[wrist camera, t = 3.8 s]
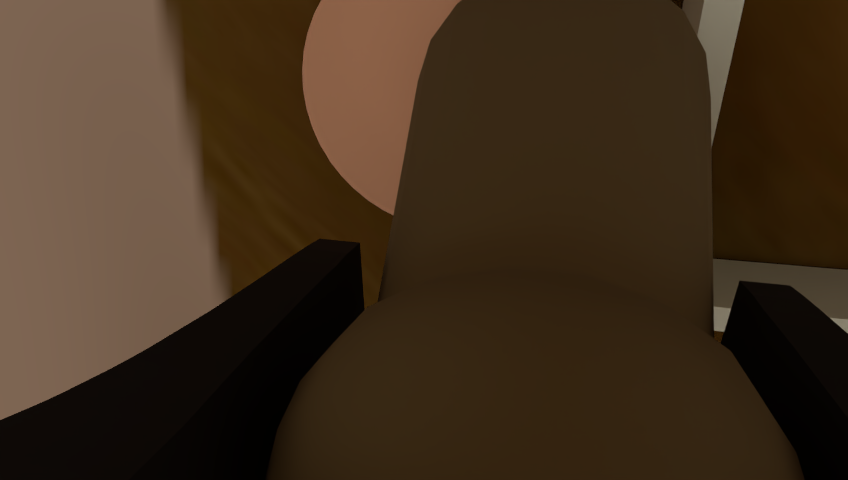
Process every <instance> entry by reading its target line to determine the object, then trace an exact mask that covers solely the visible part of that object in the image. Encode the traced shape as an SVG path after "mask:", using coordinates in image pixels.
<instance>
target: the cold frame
mask: <svg viewBox="0 0 848 480" xmlns="http://www.w3.org/2000/svg"><path fill="white" fill-rule="evenodd" d="M744 1H745V0H684V1H683V6H682V10H683V11H684V12H685V14H686V16H687V18H688V20H689V22H690V24H691V26H692V27H693V29H694V31H695V33H696V35H697V37H698V39H699V41H700V43H701V44H702V46H703V48H704V50H705V52H706V58H707V67H708V76H709V85H710V95H711V148H712V144H713V139H714V135H715V130H716V126H717V121H718V117H719V112H720V108H721V103H722V99H723V95H724V90H725V86H726V81H727V77H728V72H729V68H730V63H731V59H732V54H733V50H734V45H735V41H736V36H737V32H738V28H739V23H740V19H741V14H742V10H743V5H744ZM739 280H740V281H750V282H760V283H770V284H780V285H790V286H791V287H793V288H794V289H795V290H797V291H798V292H799V293H801V294H802V295H803V296H804V297H806V298H807V299H808V300H809V301H811V302H812V303H813V304H814V305H815V306H816V307H818V308H819V309H820V310H821V311H822V312H824V313H825V314H826V315H827V316H828V317H829V318H830V319H832V320H833V321H834V322H835V323H836V324H837V325H839V326H840V327H841V328H842V329H843V330H844V331H845V332H847V333H848V270H843V269H831V268H819V267H807V266H795V265H783V264H771V263H759V262H747V261H735V260H723V259H713V295H714V331H723V332H724V331H725V327H726V324H727V321H728V317H729V314H730V310H731V307H732V304H733V300H734V297H735V294H736V290H737V287H738V284H739Z"/></svg>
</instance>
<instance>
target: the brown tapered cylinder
mask: <svg viewBox="0 0 848 480" xmlns="http://www.w3.org/2000/svg"><path fill="white" fill-rule="evenodd" d="M265 480H805V478H804V475H803V472H802V469H801V466H800V462H799V459H798V456H797V453H796V451H795V449H794V448H793V446H792V445H791V443H790V442H789V440H788V439H787V437H786V435H785V434H784V432H783V431H782V429H781V428H780V426H779V424H778V423H777V421H776V420H775V418H774V417H773V415H772V414H771V412H770V410H769V409H768V407H767V406H766V404H765V403H764V401H763V399H762V398H761V396H760V395H759V393H758V392H757V390H756V389H755V387H754V386H753V384H752V383H751V381H750V380H749V378H748V376H747V375H746V373H745V372H744V370H743V369H742V367H741V366H740V364H739V363H738V361H737V360H736V358H735V357H734V355H733V353H732V352H731V351H730V350H729V349H727V348H726V347H725V346H723V345H722V344H721V343H719V342H718V341H716V340H715V339H714V295H713V222H712V149H711V95H710V85H709V76H708V67H707V58H706V52H705V50H704V48H703V46H702V44H701V43H700V41H699V39H698V37H697V35H696V33H695V31H694V29H693V27H692V26H691V24H690V22H689V20H688V18H687V16H686V14H685V12H684V11H683V10H682V9H680V8H679V7H678V6H677V5H676V4H675V3H674V2H672V1H671V0H461V1H460V2H459V3H457V4H456V6H455V7H454V9H453V10H452V11H451V13H450V14H449V15H448V17H447V18H446V19H445V21H444V22H443V24H442V25H441V26H440V28H439V29H438V30H437V32H436V33H435V34H434V36H433V37H432V39H431V40H430V43H429V46H428V49H427V53H426V56H425V59H424V62H423V66H422V69H421V72H420V75H419V79H418V83H417V88H416V94H415V99H414V105H413V110H412V116H411V121H410V127H409V132H408V138H407V143H406V149H405V154H404V160H403V165H402V171H401V176H400V182H399V187H398V193H397V198H396V204H395V209H394V215H393V220H392V226H391V231H390V237H389V243H388V248H387V254H386V259H385V265H384V270H383V276H382V281H381V287H380V292H379V298H378V302H377V303H375V304H373V305H371V306H369V307H367V308H366V309H365V310H364V311H363V312H362V313H361V314H360V315H359V316H358V317H357V318H356V320H355V321H354V322H353V323H352V324H351V325H350V326H349V327H348V328H347V329H346V330H345V331H344V332H343V333H342V334H341V335H340V336H339V337H338V338H337V339H336V340H335V341H334V342H333V343H332V345H331V346H330V347H329V348H328V349H327V350H326V351H325V353H324V354H323V355H322V356H321V357H320V358H319V360H318V361H317V362H316V363H315V364H314V365H313V367H312V368H311V369H310V370H309V371H308V372H307V373H306V375H305V376H304V377H303V378H302V379H301V380H300V382H299V384H298V386H297V388H296V390H295V393H294V395H293V397H292V399H291V401H290V403H289V405H288V407H287V410H286V412H285V414H284V416H283V418H282V420H281V422H280V424H279V426H278V429H277V432H276V436H275V440H274V444H273V448H272V452H271V456H270V460H269V464H268V468H267V472H266V478H265Z"/></svg>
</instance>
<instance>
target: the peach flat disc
mask: <svg viewBox="0 0 848 480" xmlns="http://www.w3.org/2000/svg"><path fill="white" fill-rule="evenodd" d="M460 1H461V0H321V2H320V4H319V6H318V8H317V9H316V11H315V13H314V16H313V19H312V22H311V24H310V27H309V30H308V33H307V38H306V43H305V48H304V53H303V67H302V77H303V92H304V97H305V103H306V108H307V112H308V115H309V118H310V122H311V125H312V128H313V130H314V132H315V134H316V137H317V139H318V141H319V143H320V145H321V147H322V149H323V150H324V152H325V154H326V155H327V157H328V159H329V160H330V162H331V163H332V164H333V166H334V167H335V168H336V170H337V171H338V172H339V174H340V175H341V176H342V177H343V178H344V179H345V180H346V181H347V182H348V183H349V184H350V185H351V186H352V187H353V188H354V189H355V190H356V191H357V192H358V193H360V194H361V195H362V196H363V197H364V198H366V199H367V200H368V201H370V202H371V203H373V204H374V205H376V206H377V207H379V208H380V209H382V210H384V211H386V212H388V213H390V214H392V215H394V209H395V204H396V198H397V193H398V187H399V182H400V176H401V171H402V165H403V160H404V154H405V149H406V143H407V138H408V132H409V127H410V121H411V116H412V110H413V105H414V99H415V94H416V88H417V83H418V79H419V75H420V72H421V69H422V66H423V62H424V59H425V56H426V53H427V49H428V46H429V43H430V40H431V39H432V37H433V36H434V34H435V33H436V32H437V30H438V29H439V28H440V26H441V25H442V24H443V22H444V21H445V19H446V18H447V17H448V15H449V14H450V13H451V11H452V10H453V9H454V7H455V6H456V4H457V3H459V2H460Z"/></svg>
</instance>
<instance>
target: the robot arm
mask: <svg viewBox="0 0 848 480" xmlns="http://www.w3.org/2000/svg"><path fill="white" fill-rule="evenodd" d="M363 311H364V298H363V283H362V268H361V253H360V243H356V242H346V241H336V240H326V239H318V240H317V241H315V242H313V243H312V244H310V245H308V246H307V247H305V248H304V249H302V250H301V251H299V252H298V253H296V254H295V255H293V256H292V257H290V258H289V259H287V260H286V261H284V262H283V263H281V264H280V265H278V266H277V267H275V268H274V269H272V270H271V271H270V272H268V273H267V274H265V275H264V276H262V277H261V278H259V279H258V280H256V281H255V282H253V283H252V284H250V285H249V286H247V287H246V288H244V289H243V290H241V291H240V292H238V293H237V294H235V295H234V296H232V297H231V298H229V299H228V300H226V301H225V302H223V303H222V304H220V305H219V306H217V307H216V308H214V309H212V310H211V311H209V312H208V313H206V314H204V315H203V316H201V317H199V318H198V319H196V320H194V321H193V322H191V323H189V324H188V325H186V326H184V327H183V328H181V329H179V330H178V331H176V332H174V333H173V334H171V335H169V336H168V337H166V338H164V339H163V340H161V341H160V342H158V343H156V344H155V345H153V346H151V347H150V348H148V349H146V350H144V351H143V352H141V353H139V354H137V355H135V356H134V357H132V358H130V359H128V360H126V361H124V362H123V363H121V364H119V365H117V366H115V367H113V368H112V369H109V370H107V371H106V372H104V373H101V374H100V375H97V376H96V377H93V378H91V379H89V380H88V381H86V382H83V383H81V384H79V385H77V386H75V387H73V388H71V389H70V390H68V391H65V392H63V393H61V394H59V395H57V396H55V397H53V398H51V399H49V400H46V401H44V402H42V403H39V404H37V405H35V406H33V407H30V408H28V409H26V410H23V411H21V412H18V413H16V414H14V415H12V416H9V417H7V418H4V419H2V420H0V480H265V478H266V472H267V468H268V464H269V460H270V456H271V452H272V448H273V444H274V440H275V436H276V432H277V429H278V426H279V424H280V422H281V420H282V418H283V416H284V414H285V412H286V410H287V407H288V405H289V403H290V401H291V399H292V397H293V395H294V393H295V390H296V388H297V386H298V384H299V382H300V380H301V379H302V378H303V377H304V376H305V375H306V373H307V372H308V371H309V370H310V369H311V368H312V367H313V365H314V364H315V363H316V362H317V361H318V360H319V358H320V357H321V356H322V355H323V354H324V353H325V351H326V350H327V349H328V348H329V347H330V346H331V345H332V343H333V342H334V341H335V340H336V339H337V338H338V337H339V336H340V335H341V334H342V333H343V332H344V331H345V330H346V329H347V328H348V327H349V326H350V325H351V324H352V323H353V322H354V321H355V320H356V318H357V317H358V316H359V315H360V314H361V313H362V312H363ZM721 344H722V345H723V346H725V347H726V348H727V349H729V350H730V351H731V352H732V353H733V355H734V357H735V358H736V360H737V361H738V363H739V364H740V366H741V367H742V369H743V370H744V372H745V373H746V375H747V376H748V378H749V380H750V381H751V383H752V384H753V386H754V387H755V389H756V390H757V392H758V393H759V395H760V396H761V398H762V399H763V401H764V403H765V404H766V406H767V407H768V409H769V410H770V412H771V414H772V415H773V417H774V418H775V420H776V421H777V423H778V424H779V426H780V428H781V429H782V431H783V432H784V434H785V435H786V437H787V439H788V440H789V442H790V443H791V445H792V446H793V448H794V449H795V451H796V453H797V456H798V459H799V462H800V466H801V469H802V472H803V475H804V478H805V480H848V333H847V332H845V331H844V330H843V329H842V328H841V327H840V326H839V325H837V324H836V323H835V322H834V321H833V320H832V319H830V318H829V317H828V316H827V315H826V314H825V313H824V312H822V311H821V310H820V309H819V308H818V307H816V306H815V305H814V304H813V303H812V302H811V301H809V300H808V299H807V298H806V297H804V296H803V295H802V294H801V293H799V292H798V291H797V290H795V289H794V288H793V287H791V286H790V285H780V284H770V283H760V282H750V281H740V280H739V284H738V287H737V290H736V294H735V297H734V300H733V304H732V307H731V310H730V314H729V317H728V321H727V324H726V327H725V331H724V334H723V337H722V341H721Z"/></svg>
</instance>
